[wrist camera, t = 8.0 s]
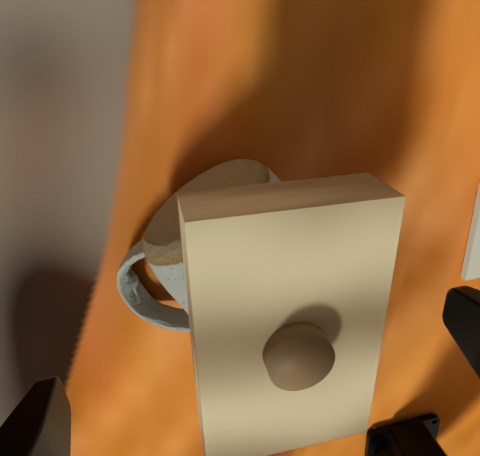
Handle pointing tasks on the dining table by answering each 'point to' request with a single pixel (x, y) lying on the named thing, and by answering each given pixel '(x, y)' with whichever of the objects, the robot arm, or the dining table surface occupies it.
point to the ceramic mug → (177, 246)
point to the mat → (473, 245)
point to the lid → (287, 307)
